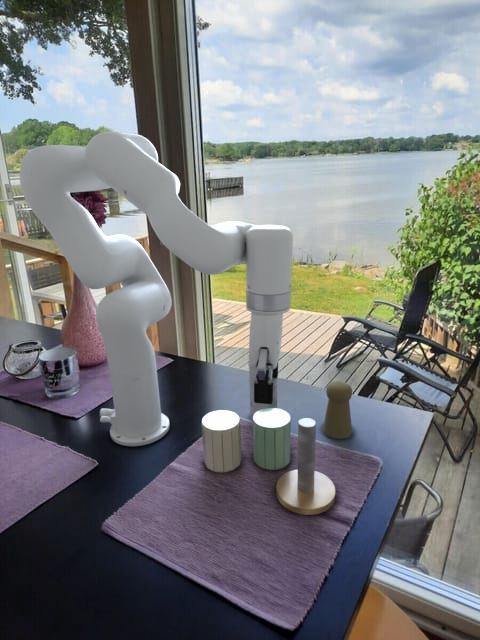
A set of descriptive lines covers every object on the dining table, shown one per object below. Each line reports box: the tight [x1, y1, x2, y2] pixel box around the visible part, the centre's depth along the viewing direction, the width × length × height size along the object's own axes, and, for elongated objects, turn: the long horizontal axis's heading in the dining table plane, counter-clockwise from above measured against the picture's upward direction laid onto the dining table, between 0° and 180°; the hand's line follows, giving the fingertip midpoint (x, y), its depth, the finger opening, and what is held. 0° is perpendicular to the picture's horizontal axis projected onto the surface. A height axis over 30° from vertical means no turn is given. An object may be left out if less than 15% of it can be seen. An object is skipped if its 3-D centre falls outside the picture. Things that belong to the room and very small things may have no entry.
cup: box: [201, 409, 242, 473], centre depth 83 cm, size 7×7×9 cm
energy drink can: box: [248, 366, 278, 420], centre depth 96 cm, size 6×6×15 cm
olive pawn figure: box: [322, 380, 353, 440], centre depth 91 cm, size 6×6×11 cm
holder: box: [275, 417, 337, 516], centre depth 73 cm, size 10×10×14 cm
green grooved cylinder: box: [252, 407, 292, 471], centre depth 84 cm, size 7×7×9 cm
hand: (266, 389), depth 81 cm, fingers open, 9 cm apart
